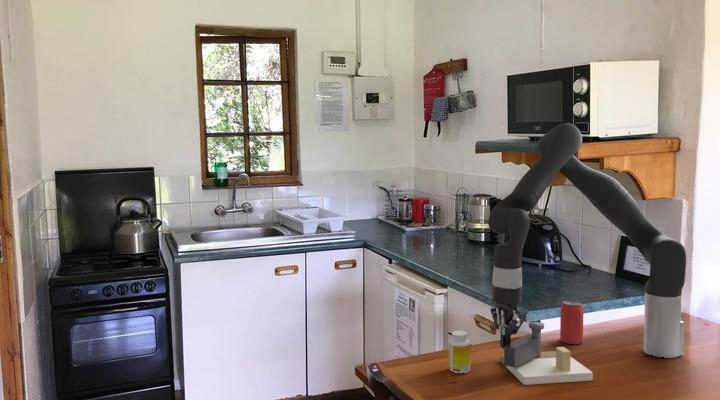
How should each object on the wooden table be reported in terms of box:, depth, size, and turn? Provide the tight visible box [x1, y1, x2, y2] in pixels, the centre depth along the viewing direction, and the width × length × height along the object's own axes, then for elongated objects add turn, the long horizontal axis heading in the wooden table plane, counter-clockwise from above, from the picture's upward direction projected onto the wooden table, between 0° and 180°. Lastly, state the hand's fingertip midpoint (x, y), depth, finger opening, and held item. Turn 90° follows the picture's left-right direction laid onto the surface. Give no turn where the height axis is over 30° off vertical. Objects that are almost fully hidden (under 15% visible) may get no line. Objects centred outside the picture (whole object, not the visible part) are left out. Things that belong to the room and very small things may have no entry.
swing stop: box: [503, 334, 538, 368], centre depth 161 cm, size 12×3×5 cm, turn 136°
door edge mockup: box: [499, 321, 594, 386], centre depth 162 cm, size 18×17×11 cm
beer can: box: [559, 300, 585, 345], centre depth 185 cm, size 7×7×12 cm
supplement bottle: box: [448, 330, 471, 375], centre depth 162 cm, size 6×6×10 cm
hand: (505, 347), depth 162 cm, fingers closed
